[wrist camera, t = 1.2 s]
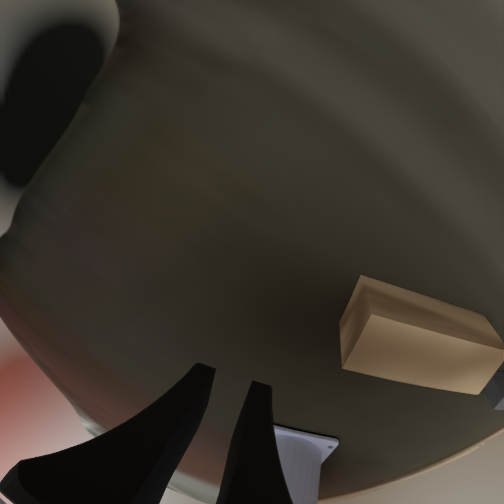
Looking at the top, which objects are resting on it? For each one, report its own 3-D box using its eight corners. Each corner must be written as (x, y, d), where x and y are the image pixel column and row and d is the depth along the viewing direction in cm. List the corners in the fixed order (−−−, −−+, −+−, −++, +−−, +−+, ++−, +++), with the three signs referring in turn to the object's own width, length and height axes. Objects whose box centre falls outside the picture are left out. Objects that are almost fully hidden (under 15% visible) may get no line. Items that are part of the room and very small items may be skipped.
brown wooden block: (458, 353, 18) (478, 394, 14) (339, 321, 19) (342, 368, 15) (482, 313, 16) (509, 351, 12) (360, 273, 17) (371, 313, 13)
